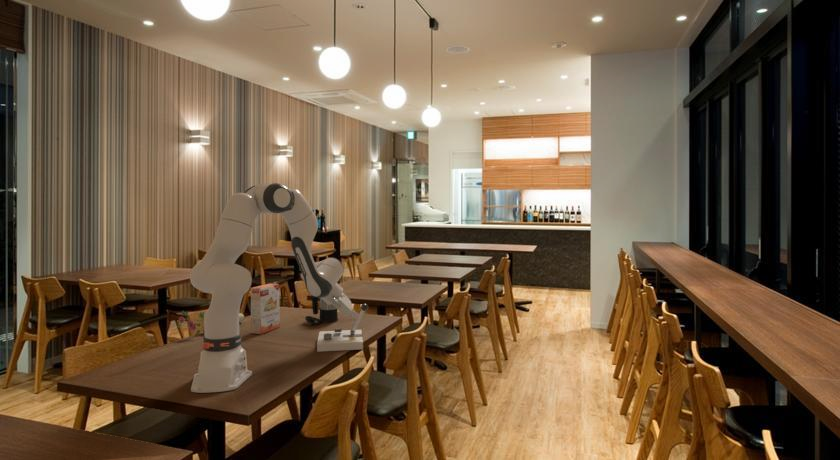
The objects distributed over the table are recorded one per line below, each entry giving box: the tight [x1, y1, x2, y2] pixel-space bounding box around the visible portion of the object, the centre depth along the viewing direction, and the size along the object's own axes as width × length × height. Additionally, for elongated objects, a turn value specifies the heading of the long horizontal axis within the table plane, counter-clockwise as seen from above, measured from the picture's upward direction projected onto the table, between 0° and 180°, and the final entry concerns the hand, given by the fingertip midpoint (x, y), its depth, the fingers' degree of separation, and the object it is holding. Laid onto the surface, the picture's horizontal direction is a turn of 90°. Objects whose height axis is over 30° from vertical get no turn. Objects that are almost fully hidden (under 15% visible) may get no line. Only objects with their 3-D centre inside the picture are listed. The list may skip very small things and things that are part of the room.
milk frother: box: [304, 296, 339, 326], centre depth 254 cm, size 14×16×15 cm
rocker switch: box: [333, 328, 342, 332], centre depth 220 cm, size 4×3×1 cm, turn 8°
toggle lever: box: [350, 303, 369, 335], centre depth 217 cm, size 3×3×14 cm
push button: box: [324, 333, 332, 340], centre depth 211 cm, size 3×3×2 cm
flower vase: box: [176, 310, 245, 336], centre depth 239 cm, size 12×12×35 cm
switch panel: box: [316, 329, 364, 352], centre depth 216 cm, size 20×18×3 cm
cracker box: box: [250, 283, 281, 335], centre depth 239 cm, size 14×6×21 cm, turn 159°
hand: (357, 317), depth 217 cm, fingers closed, pressing on toggle lever
